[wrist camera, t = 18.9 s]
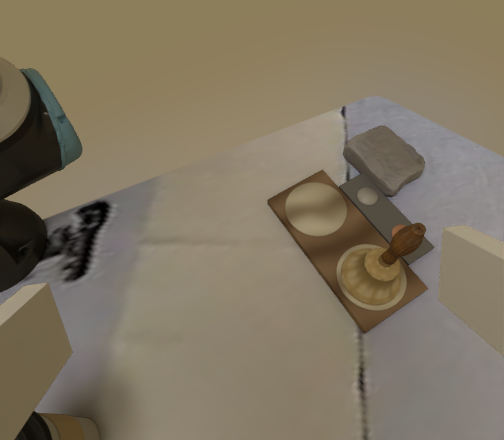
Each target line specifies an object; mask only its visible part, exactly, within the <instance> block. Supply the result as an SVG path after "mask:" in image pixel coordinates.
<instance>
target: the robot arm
mask: <svg viewBox="0 0 504 440" xmlns="http://www.w3.org/2000/svg"><path fill="white" fill-rule="evenodd" d="M81 154H82V145H81V142H80V140H79V138H78V136H77V134H76V132H75V130H74V128H73V126H72V125H71V123H70V121H69V120H68V118H67V117H66V115H65V113H64V111H63V110H62V107H61V106H60V104H59V102H58V101H57V99H56V97H55V96H54V94H53V93H52V91H51V89H50V88H49V87H48V85H47V83H46V82H45V80H44V79H43V77H42V76H41V75H40V74H39V72H38V71H36V70H35V69H32V68H29V69H20V70H18V69H17V68H16V67H15V66H14V65H13V64H12V63H10V62H9V61H7V60H5V59H3V58H1V57H0V292H2V291H4V290H6V289H8V288H10V287H12V286H13V285H15V284H17V283H18V282H19V281H21V280H22V279H23V278H24V277H25V276H26V275H28V274H29V273H30V271H31V270H32V269H33V268H34V267H35V265H36V264H37V263H38V261H39V259H40V258H41V256H42V254H43V251H44V248H45V245H46V239H47V232H46V227H45V224H44V222H43V220H42V219H41V218H40V217H39V215H37V214H36V213H35V212H34V211H32V210H31V209H29V208H28V207H26V206H25V205H22V204H20V203H16V202H12V201H8V200H5V199H4V198H6V197H8V196H10V195H12V194H14V193H16V192H17V191H19V190H21V189H23V188H25V187H27V186H29V185H31V184H33V183H35V182H37V181H39V180H41V179H42V178H44V177H46V176H48V175H50V174H52V173H54V172H56V171H60V170H62V169H64V168H65V166H66V165H68V164H70V163H71V162H73V161H75V160H76V159H78V158H79V157H80V155H81ZM438 300H439V301H440V302H442V303H443V304H444V305H445V306H446V307H447V308H448V309H450V310H451V311H452V312H453V313H454V314H455V315H456V316H458V317H459V318H460V319H461V320H462V321H463V322H465V323H466V324H467V325H468V326H469V327H470V328H471V329H473V330H474V331H475V332H476V333H477V334H478V335H479V336H481V337H482V338H483V339H484V340H485V341H486V342H487V343H489V344H490V345H491V346H492V347H493V348H494V349H496V350H497V351H498V352H499V353H500V354H501V355H502V356H504V242H501V241H499V240H497V239H495V238H493V237H491V236H488V235H486V234H484V233H482V232H480V231H477V230H475V229H473V228H471V227H469V226H466V225H462V226H454V227H447V228H443V235H442V250H441V265H440V280H439V296H438ZM72 353H73V351H72V349H71V346H70V343H69V340H68V337H67V334H66V332H65V329H64V326H63V323H62V320H61V318H60V315H59V312H58V309H57V306H56V303H55V301H54V298H53V295H52V292H51V289H50V286H49V284H48V283H41V284H34V285H27V286H23V287H22V288H21V289H20V290H19V291H17V292H16V293H15V294H14V295H12V296H11V297H10V298H9V299H8V300H6V301H5V302H4V303H3V304H1V305H0V440H14V439H15V438H16V436H17V435H18V433H19V432H20V430H21V429H22V427H23V426H24V424H25V423H26V421H27V420H28V418H29V417H30V415H31V414H32V412H33V411H34V409H35V408H36V406H37V405H38V403H39V402H40V400H41V399H42V397H43V396H44V394H45V393H46V391H47V390H48V388H49V387H50V385H51V384H52V382H53V381H54V380H55V378H56V377H57V375H58V374H59V372H60V371H61V369H62V368H63V366H64V365H65V363H66V362H67V360H68V359H69V357H70V356H71V354H72Z"/></svg>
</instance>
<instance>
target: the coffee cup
mask: <svg viewBox="0 0 504 440" xmlns="http://www.w3.org/2000/svg"><path fill="white" fill-rule="evenodd" d="M14 440H100V436H99V431H98V428H97V426H96V424H95V423H94V422H93V421H92V420H91V419H88V418H84V417H72V416H70V415H63V414H49V413H36V412H35V411H33V412H32V414H31V415H30V417H29V418H28V420H27V421H26V423H25V424H24V426H23V427H22V429H21V430H20V432H19V433H18V435H17V436H16V438H15V439H14Z"/></svg>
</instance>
